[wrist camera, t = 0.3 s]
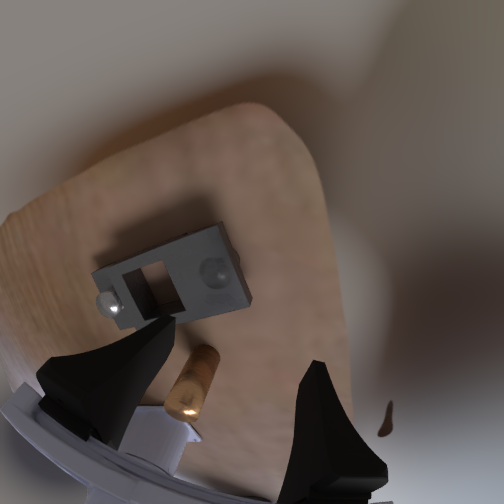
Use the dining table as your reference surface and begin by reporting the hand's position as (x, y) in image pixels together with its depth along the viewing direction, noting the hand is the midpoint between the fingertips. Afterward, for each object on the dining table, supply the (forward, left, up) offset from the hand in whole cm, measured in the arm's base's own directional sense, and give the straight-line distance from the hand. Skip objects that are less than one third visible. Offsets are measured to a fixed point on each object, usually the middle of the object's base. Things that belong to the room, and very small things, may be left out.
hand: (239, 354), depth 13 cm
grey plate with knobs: (-9, +2, -10) cm, 14 cm away
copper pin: (-9, -7, -11) cm, 15 cm away
